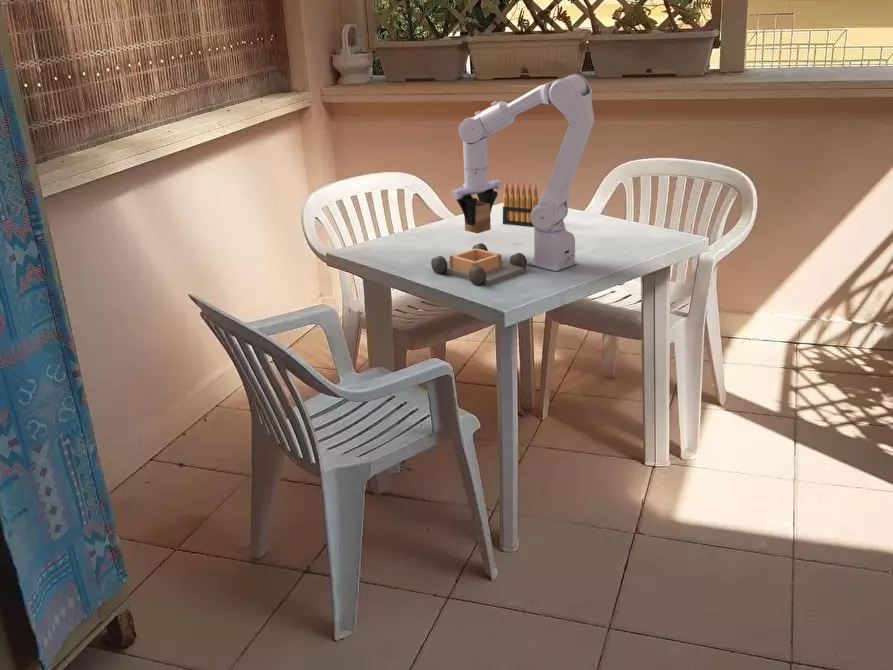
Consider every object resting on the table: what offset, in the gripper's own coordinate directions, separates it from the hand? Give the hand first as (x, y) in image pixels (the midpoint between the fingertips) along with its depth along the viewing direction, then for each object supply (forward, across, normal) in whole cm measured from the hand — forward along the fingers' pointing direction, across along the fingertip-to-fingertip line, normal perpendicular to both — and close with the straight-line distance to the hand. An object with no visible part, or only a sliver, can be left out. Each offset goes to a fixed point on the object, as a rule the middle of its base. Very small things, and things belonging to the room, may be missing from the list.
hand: (477, 222), depth 218 cm
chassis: (+9, +8, +8) cm, 15 cm away
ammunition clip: (+9, -29, -13) cm, 33 cm away
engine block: (+2, 0, 0) cm, 2 cm away
